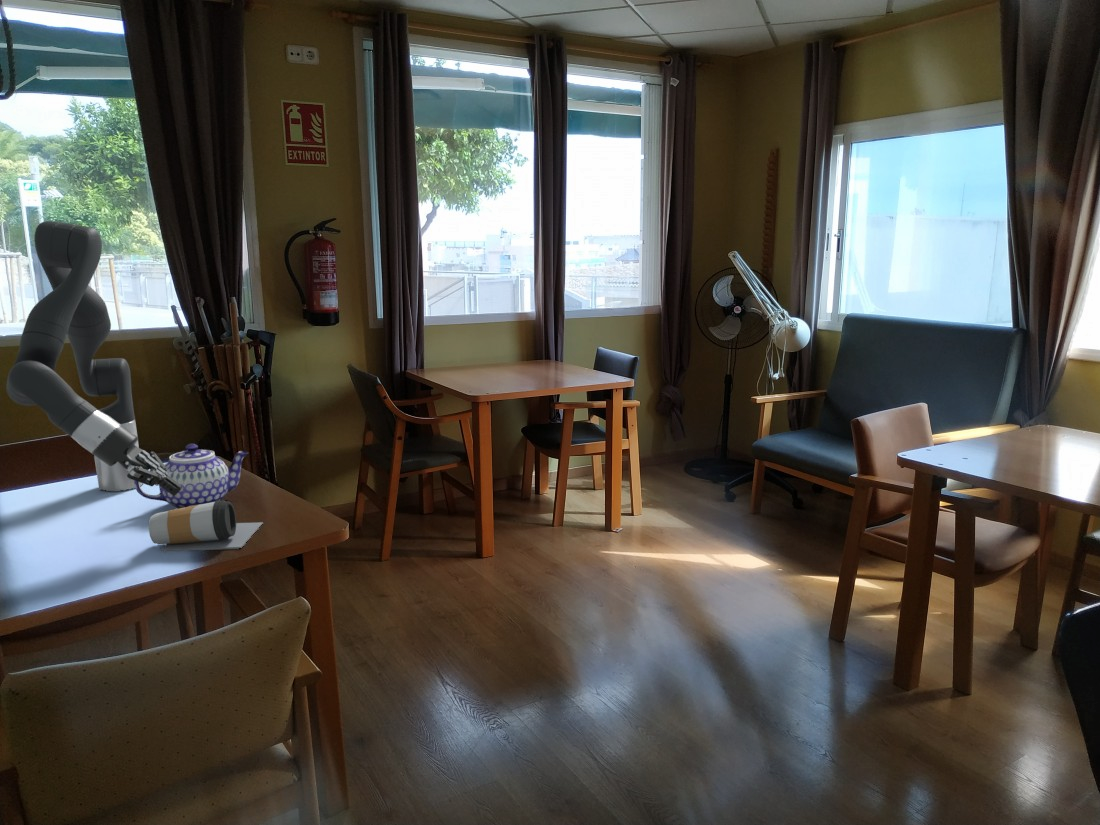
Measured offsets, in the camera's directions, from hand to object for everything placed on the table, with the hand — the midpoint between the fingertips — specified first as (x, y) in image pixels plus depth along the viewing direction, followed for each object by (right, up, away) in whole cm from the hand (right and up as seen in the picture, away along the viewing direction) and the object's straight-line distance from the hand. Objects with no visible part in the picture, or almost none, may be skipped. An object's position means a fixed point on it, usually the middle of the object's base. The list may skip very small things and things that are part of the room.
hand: (178, 491), depth 153 cm
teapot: (-8, -6, +25) cm, 27 cm away
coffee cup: (-5, -8, -1) cm, 9 cm away
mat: (+5, -10, +4) cm, 12 cm away
